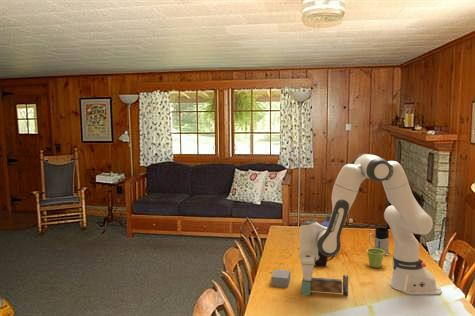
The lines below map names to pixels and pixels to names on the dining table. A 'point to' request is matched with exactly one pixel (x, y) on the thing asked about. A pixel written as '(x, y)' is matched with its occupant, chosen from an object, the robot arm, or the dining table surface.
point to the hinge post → (345, 285)
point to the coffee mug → (321, 260)
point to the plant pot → (375, 257)
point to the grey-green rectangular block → (306, 287)
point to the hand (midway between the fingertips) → (308, 282)
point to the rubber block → (280, 278)
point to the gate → (326, 285)
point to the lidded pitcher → (381, 239)
